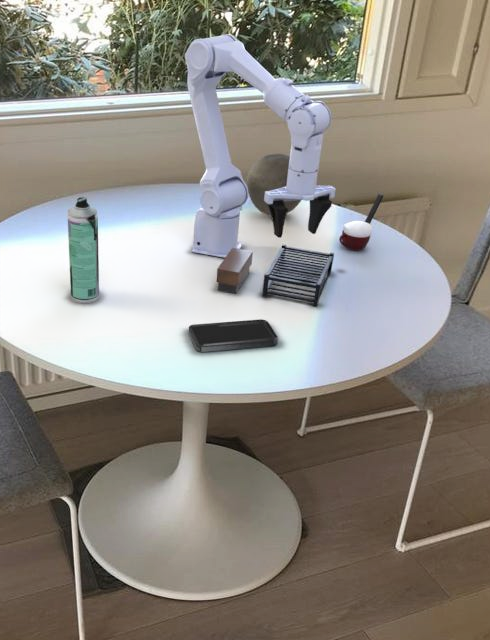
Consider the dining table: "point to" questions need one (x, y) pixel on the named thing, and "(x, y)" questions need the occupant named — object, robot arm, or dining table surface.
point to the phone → (232, 335)
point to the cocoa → (359, 230)
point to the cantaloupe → (268, 180)
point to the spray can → (83, 252)
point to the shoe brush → (234, 270)
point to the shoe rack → (317, 284)
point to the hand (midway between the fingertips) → (294, 233)
